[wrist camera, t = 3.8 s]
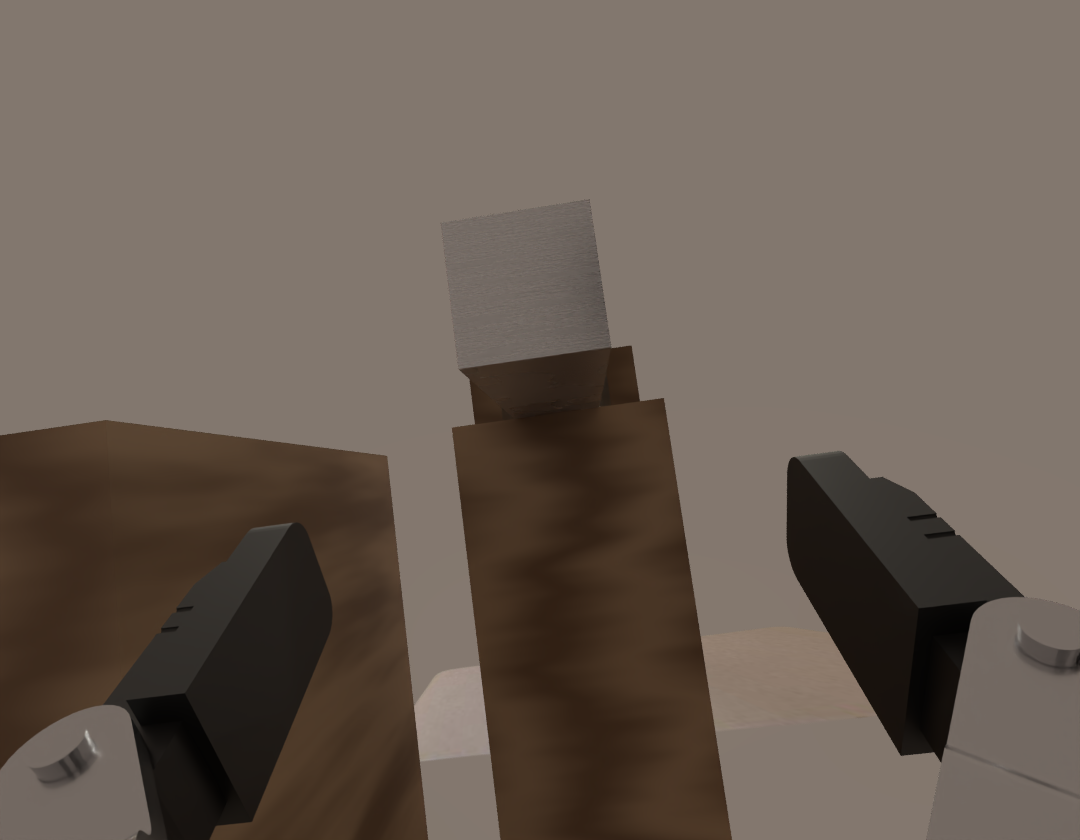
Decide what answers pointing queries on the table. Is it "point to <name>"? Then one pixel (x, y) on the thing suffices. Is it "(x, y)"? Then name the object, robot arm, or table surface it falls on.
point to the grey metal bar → (529, 307)
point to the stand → (393, 611)
